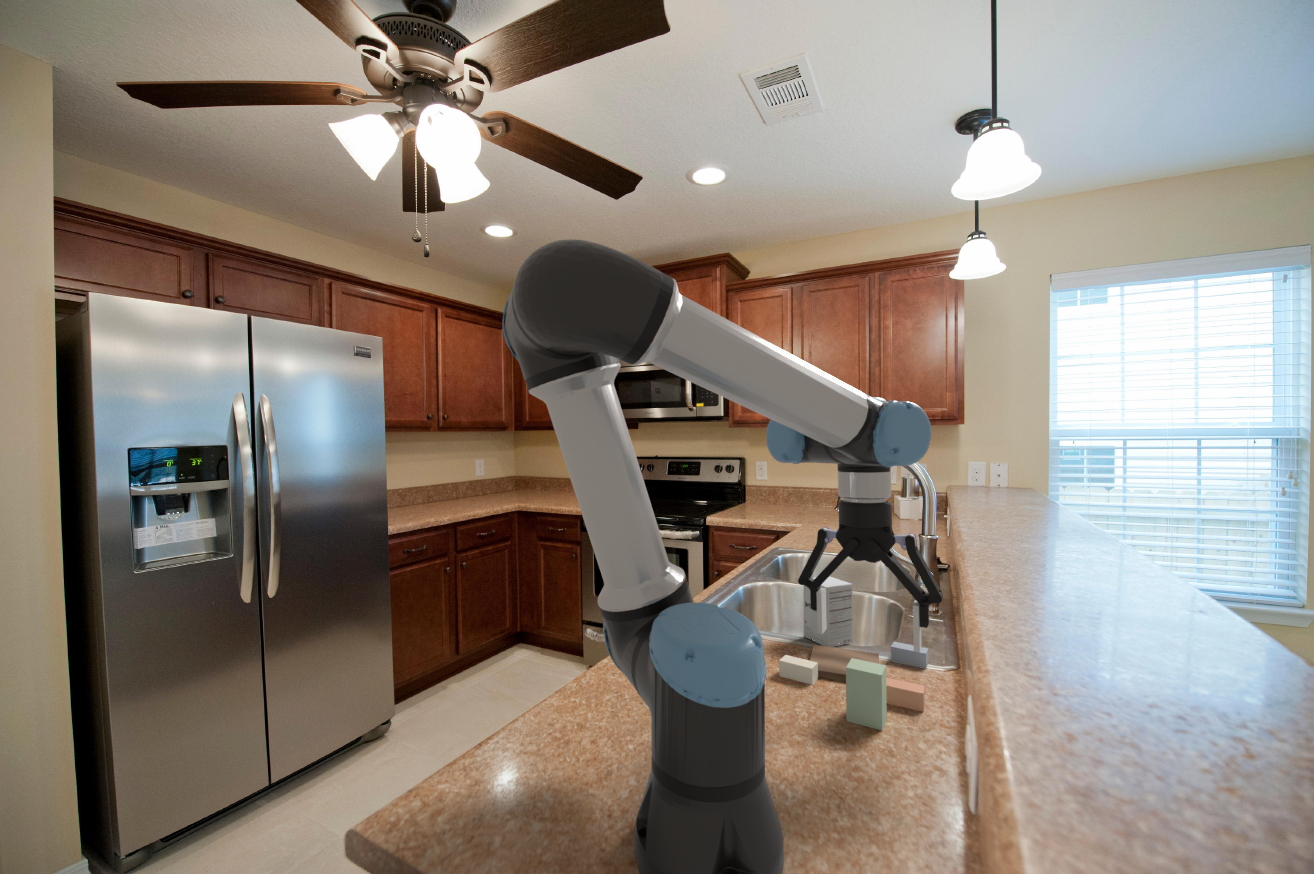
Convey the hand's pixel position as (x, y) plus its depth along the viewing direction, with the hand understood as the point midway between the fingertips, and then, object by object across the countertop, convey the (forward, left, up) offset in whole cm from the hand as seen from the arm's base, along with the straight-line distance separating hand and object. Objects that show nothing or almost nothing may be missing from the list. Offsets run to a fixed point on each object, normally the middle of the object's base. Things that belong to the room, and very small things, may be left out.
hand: (867, 639), depth 77 cm
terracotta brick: (+8, -4, -12) cm, 15 cm away
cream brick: (+8, +13, -12) cm, 20 cm away
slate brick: (+26, -3, -12) cm, 29 cm away
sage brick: (0, 0, -12) cm, 12 cm away
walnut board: (+17, +7, -12) cm, 22 cm away
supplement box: (+29, +13, -12) cm, 34 cm away
